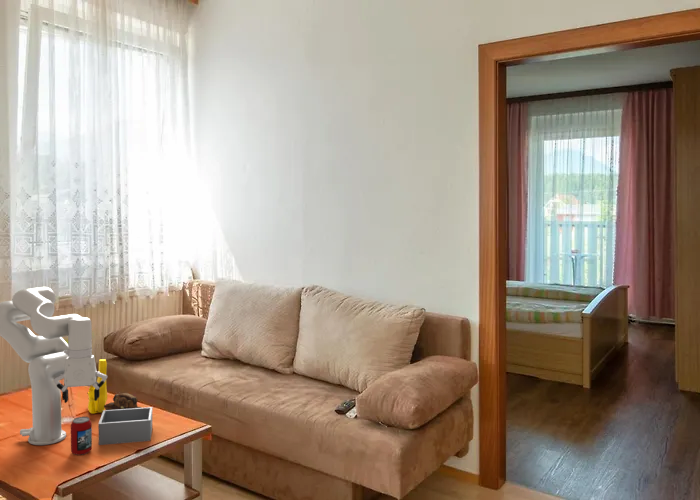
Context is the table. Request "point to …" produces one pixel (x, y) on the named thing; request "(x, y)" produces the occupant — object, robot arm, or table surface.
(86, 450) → the beverage can
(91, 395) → the figure statuette
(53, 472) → the table surface
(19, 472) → the table surface
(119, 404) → the wooden carving
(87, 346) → the robot arm
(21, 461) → the table surface
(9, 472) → the table surface
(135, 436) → the gray open storage box
